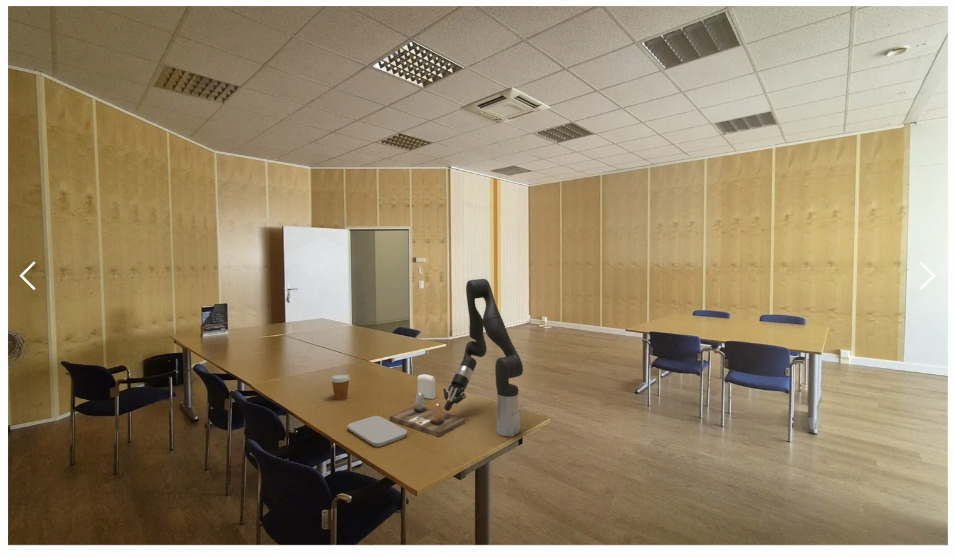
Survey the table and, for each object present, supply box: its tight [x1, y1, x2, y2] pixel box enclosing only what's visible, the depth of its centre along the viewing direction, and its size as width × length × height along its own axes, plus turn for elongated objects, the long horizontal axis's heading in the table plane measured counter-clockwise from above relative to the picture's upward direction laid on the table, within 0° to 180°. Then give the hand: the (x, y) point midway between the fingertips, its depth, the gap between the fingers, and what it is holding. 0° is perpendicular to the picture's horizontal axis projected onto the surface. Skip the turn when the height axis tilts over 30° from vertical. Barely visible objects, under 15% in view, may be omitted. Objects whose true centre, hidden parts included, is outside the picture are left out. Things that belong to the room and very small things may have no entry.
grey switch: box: [414, 392, 428, 412], centre depth 195 cm, size 4×4×8 cm
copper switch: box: [430, 402, 444, 425], centre depth 181 cm, size 4×4×8 cm
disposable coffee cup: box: [330, 373, 351, 401], centre depth 217 cm, size 10×10×12 cm
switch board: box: [389, 404, 466, 438], centre depth 187 cm, size 30×18×2 cm, turn 55°
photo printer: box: [416, 373, 436, 400], centre depth 219 cm, size 10×4×12 cm, turn 64°
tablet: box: [347, 415, 408, 448], centre depth 176 cm, size 16×26×2 cm, turn 45°
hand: (446, 410), depth 186 cm, fingers closed
